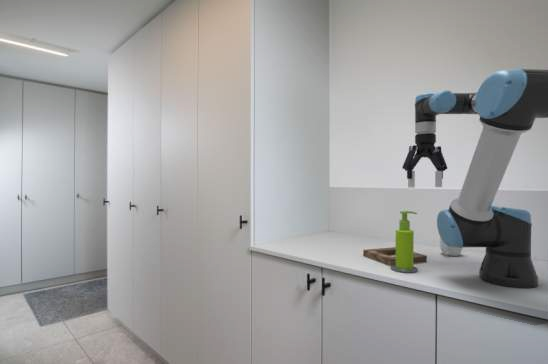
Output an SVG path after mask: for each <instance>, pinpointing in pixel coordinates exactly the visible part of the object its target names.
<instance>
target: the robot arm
mask: <svg viewBox="0 0 548 364" xmlns="http://www.w3.org/2000/svg"><path fill="white" fill-rule="evenodd" d="M414 100H415V101H414V117H415V118H414V120H415V122H414V124H415V125H414V128H415V129H414V133H415V136H414V142H415V144H414V145H413V144H412V145H409V147H408V152H407V156H406V158H405V160H404V162H403V165H402V167H401V168H402V169H403V170H404V171H406V178H407V181H408V182H407V187H408V188H415V187H416V183H415V181H416V180H415V179H416V178H415V177H416V174H415V173H416V171H415V170H414V169H415V167H416V166H417V164H418V163H419V161H420V160H421V159H422V158H427V159H429V161H430V162H431V163H432V165H433V166H434V168H435V169H436V170H435V173H434V178H435V179H434V180H435V181H434V184H435V186H434V187H435V188H443V179H444V172H445V171H446V170H447V169H448V165H447V163H446V160H445V157H444V155H443V152H442V146H441V145H439V146H435V144H436V142H437V135H436V133H437V116H440V115H478V116H479V118H478V120H479V122H480V124H481V126H483V127H482V131H481V133H480V135H479V139H478V141H477V144H476V147H475V150H474V152H473V156H472V157H471V161H470V164H469V167H468V170H467V173H466V175H465V178H464V181H463V185H462V187H461V190H460V192H459V195H458V197H457V198H455V199H452V201H451V202H450V204H449V207H448V209H443V210H440V211H439V212H438V214H437V216H436V227H437V230H438V234H439V238H441V239H442V241H443V242H444V243H445V244H446V245H447V246H449V247H459V248H462V249H463V248H485V253H484V258H483V260H482V262H481V264H480V267H479V270H478V271H479V272H478V273H479V275H478V276H479V278H480V279H481V280H484V281H485V282H488V283H491V284H495V285H499V286H504V287H512V288H519V289H520V288H523V289H524V288H527V289H529V288H536V287H538V286H539V276H538V274H537V271H536V268H535V266H534V263H533V261H532V226H533V224H532V218H531V217H532V215H531V213H530V211H528V210H526V209H520V208H513V207H504V206H497V205H496V206H495V205H493V202H494V200H495V197H496V196H497V193H498V190H499V188H500V185H501V184H502V181H503V179H504V175H505V173H506V171H507V169H508V166H509V165H510V162H511V160H512V157H513V154H514V153H515V149H516V148H517V145H518V143H519V139H520V137H521V136H522V134H524V133H527V132H528V131H530V130H532V128H533V125H534V123H535V121H536V119H548V69H538V68H537V69H533V68H532V69H531V68H530V69H529V68H528V69H527V68H521V69H520V68H511V69H501V70H497V71H495V72H493V73H491V74H490V75H488V77H486V78H485V79H484V81H482V83H481V84H480V86H479V87H478V90H477V92H465V93H464V92H463V93H462V92H452V91H451V90H449V89H448V90H447V89H446V90H443V89H442V90H439V91H437V92H435V93H433V92H432V93H431V92H428V93H427V92H426V93H420V94H418V95H417V96H415V99H414Z"/></svg>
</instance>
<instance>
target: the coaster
mask: <svg viewBox="0 0 548 364" xmlns="http://www.w3.org/2000/svg"><path fill="white" fill-rule="evenodd" d="M390 270H391V271H394V272H397V273H401V274H402V273H403V274H414V273H417V272H418V271H419V269H418V267H416V266H414V265H413V269H411V270H404V269H399V268H396V265H392V266H390Z"/></svg>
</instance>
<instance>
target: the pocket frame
mask: <svg viewBox="0 0 548 364" xmlns="http://www.w3.org/2000/svg"><path fill="white" fill-rule="evenodd" d="M362 255H363V257H366V258H367V259H368V258H369V259H372V260H374V261H376V262H379V263H381V264H384V265H386V266H390V267H391V266H392V265H396V246H393V247H383V248H382V247H381V248H380V247H379V248H370V249H363V254H362ZM427 259H428V255H426V254H422V253H419V252H415V251H413V264H419V263H421V264H423V263H427V262H428V260H427Z"/></svg>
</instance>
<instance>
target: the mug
mask: <svg viewBox="0 0 548 364" xmlns="http://www.w3.org/2000/svg"><path fill="white" fill-rule="evenodd" d="M439 246H440V250H441V253H442V254H443V255H445V256H449V257H459V256H460V255H461V254H462V251H463V247H462V248H459V247H449V246H447V245H446V244H445V243H444V242H443V241H442V239H441V237H439Z"/></svg>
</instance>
